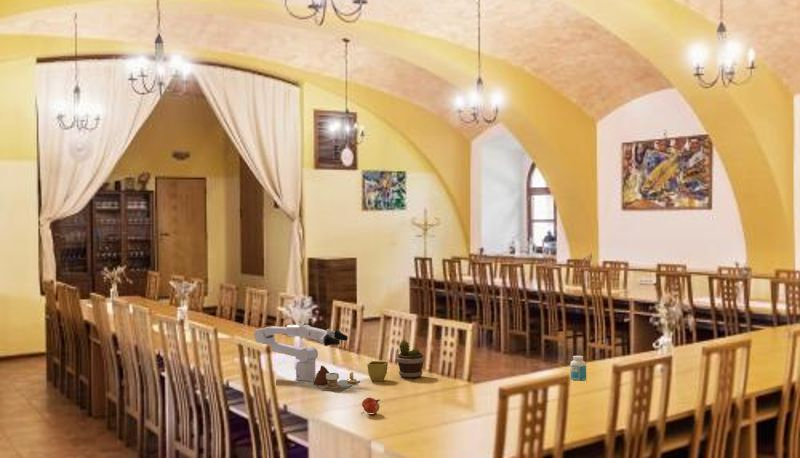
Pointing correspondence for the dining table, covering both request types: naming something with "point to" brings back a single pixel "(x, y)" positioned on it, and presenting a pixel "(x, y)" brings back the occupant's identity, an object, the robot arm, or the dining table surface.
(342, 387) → the mat
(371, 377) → the flower pot
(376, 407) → the pomegranate
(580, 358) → the pill bottle
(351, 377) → the hub
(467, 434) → the dining table surface
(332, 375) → the clutch plate
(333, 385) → the tan rock
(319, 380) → the poop emoji
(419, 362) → the flowerpot
